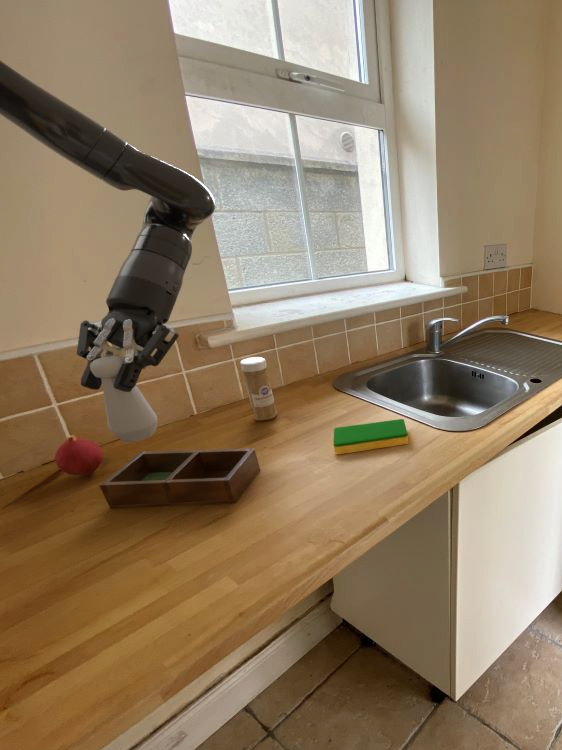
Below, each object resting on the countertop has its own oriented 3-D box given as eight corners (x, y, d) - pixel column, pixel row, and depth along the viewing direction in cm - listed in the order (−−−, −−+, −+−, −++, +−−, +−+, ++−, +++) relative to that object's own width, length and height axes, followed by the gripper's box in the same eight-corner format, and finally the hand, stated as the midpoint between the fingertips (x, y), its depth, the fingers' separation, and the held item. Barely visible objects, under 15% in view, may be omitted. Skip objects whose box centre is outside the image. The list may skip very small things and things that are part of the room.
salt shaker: (120, 430, 72) (88, 354, 66) (165, 424, 74) (137, 349, 68) (109, 448, 67) (73, 368, 61) (157, 440, 69) (127, 362, 64)
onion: (57, 480, 76) (36, 440, 73) (96, 463, 81) (78, 424, 78) (79, 488, 75) (59, 447, 71) (118, 470, 80) (101, 431, 76)
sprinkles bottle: (266, 423, 97) (251, 365, 91) (249, 419, 98) (234, 361, 92) (282, 414, 101) (269, 357, 95) (266, 410, 102) (252, 354, 96)
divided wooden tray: (109, 509, 70) (98, 485, 68) (149, 473, 79) (140, 451, 77) (235, 503, 73) (228, 480, 71) (260, 469, 81) (254, 448, 79)
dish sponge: (408, 444, 91) (407, 434, 90) (335, 455, 86) (333, 444, 85) (404, 428, 97) (403, 418, 96) (335, 437, 92) (333, 427, 91)
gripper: (81, 271, 67) (31, 376, 62) (172, 275, 66) (129, 382, 61) (125, 298, 74) (84, 394, 69) (208, 302, 74) (173, 400, 68)
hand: (105, 388), depth 65 cm, fingers closed on salt shaker, 4 cm apart
